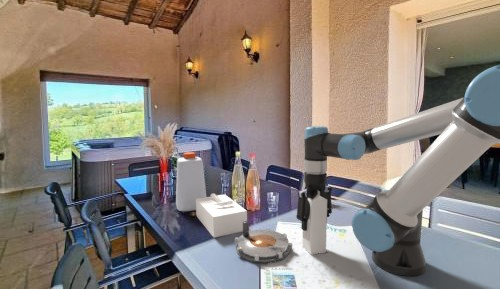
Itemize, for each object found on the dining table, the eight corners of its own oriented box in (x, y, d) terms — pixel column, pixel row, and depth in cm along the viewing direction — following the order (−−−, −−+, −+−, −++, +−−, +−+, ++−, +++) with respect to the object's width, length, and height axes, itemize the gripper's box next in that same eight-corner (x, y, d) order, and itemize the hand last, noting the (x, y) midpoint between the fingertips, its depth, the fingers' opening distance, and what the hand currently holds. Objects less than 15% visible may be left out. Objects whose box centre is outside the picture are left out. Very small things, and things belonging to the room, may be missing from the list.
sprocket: (300, 242, 100) (300, 224, 99) (271, 267, 84) (271, 246, 83) (256, 229, 111) (256, 213, 110) (224, 248, 96) (223, 230, 95)
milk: (310, 255, 93) (311, 192, 90) (302, 246, 99) (302, 187, 96) (326, 252, 95) (327, 190, 92) (317, 244, 100) (318, 185, 98)
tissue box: (213, 238, 107) (213, 211, 105) (196, 216, 129) (195, 194, 128) (247, 230, 113) (246, 205, 112) (225, 211, 135) (224, 189, 134)
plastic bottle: (203, 200, 152) (202, 150, 148) (208, 209, 137) (206, 154, 134) (175, 203, 147) (173, 151, 143) (177, 213, 133) (174, 156, 129)
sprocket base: (301, 253, 94) (301, 250, 94) (253, 269, 85) (253, 267, 85) (270, 232, 111) (270, 230, 111) (227, 244, 101) (227, 242, 101)
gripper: (328, 166, 101) (326, 226, 104) (285, 173, 92) (285, 238, 94) (344, 170, 95) (342, 233, 98) (300, 177, 85) (299, 247, 88)
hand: (314, 235), depth 96 cm, fingers closed on milk, 7 cm apart
